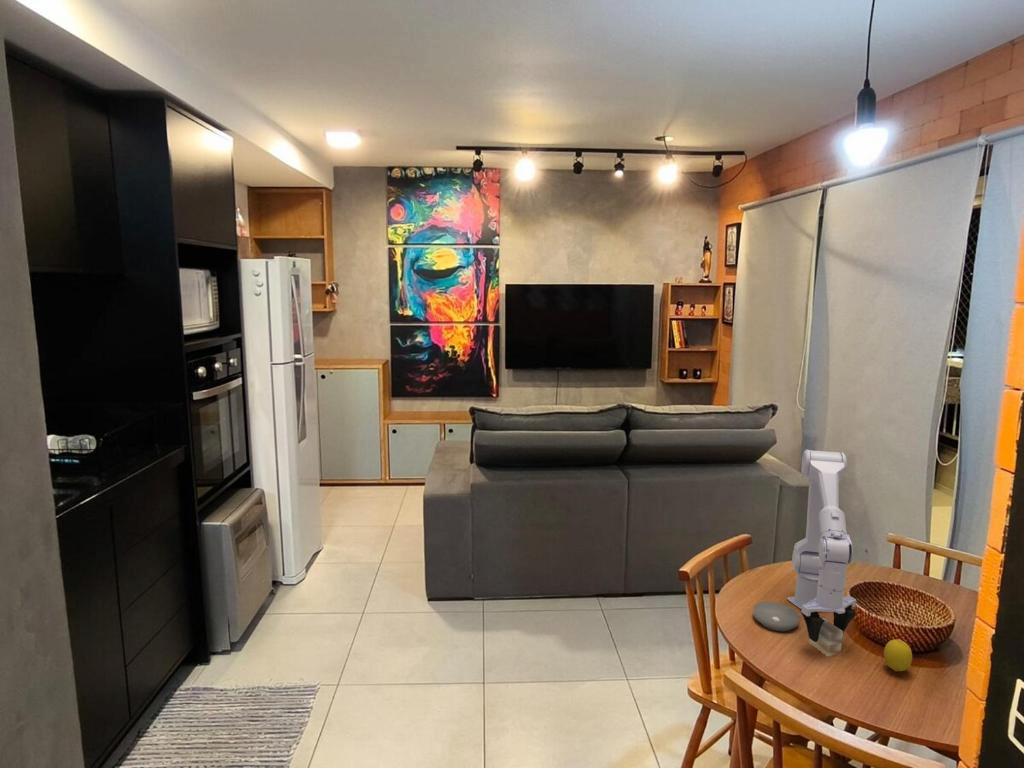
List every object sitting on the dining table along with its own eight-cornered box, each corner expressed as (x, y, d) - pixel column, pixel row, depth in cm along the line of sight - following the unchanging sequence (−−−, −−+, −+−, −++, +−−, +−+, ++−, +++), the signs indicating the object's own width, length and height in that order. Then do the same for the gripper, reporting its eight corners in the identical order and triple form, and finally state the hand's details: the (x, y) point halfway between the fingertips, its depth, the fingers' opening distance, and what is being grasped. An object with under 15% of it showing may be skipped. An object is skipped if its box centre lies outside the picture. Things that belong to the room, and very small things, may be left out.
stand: (777, 607, 169) (778, 598, 169) (807, 629, 159) (808, 620, 159) (744, 613, 166) (744, 605, 166) (772, 636, 156) (773, 627, 155)
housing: (821, 639, 155) (823, 617, 154) (840, 653, 149) (843, 631, 148) (808, 642, 154) (810, 620, 153) (827, 656, 148) (829, 634, 147)
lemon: (907, 667, 144) (912, 636, 143) (911, 681, 139) (916, 649, 138) (880, 661, 147) (884, 630, 145) (883, 674, 142) (887, 643, 140)
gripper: (819, 598, 142) (813, 651, 145) (868, 589, 147) (862, 641, 149) (797, 583, 149) (792, 634, 152) (845, 575, 153) (839, 625, 156)
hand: (825, 636), depth 151 cm, fingers open, 7 cm apart
